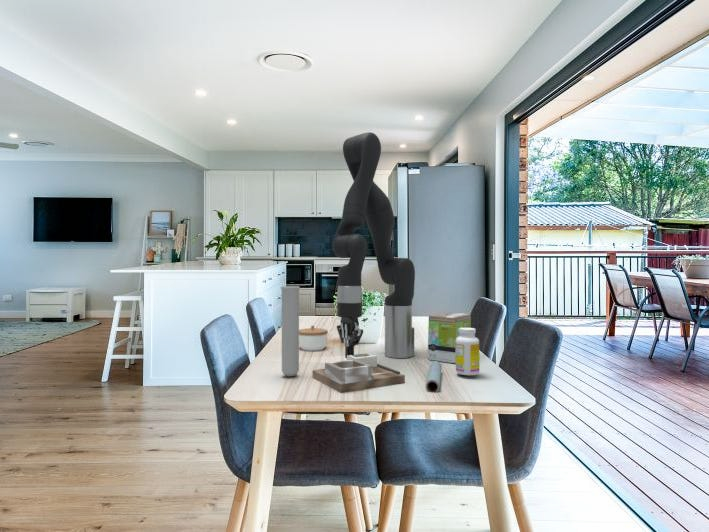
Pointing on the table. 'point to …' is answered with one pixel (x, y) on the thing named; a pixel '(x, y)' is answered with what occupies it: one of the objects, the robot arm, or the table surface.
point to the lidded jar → (312, 339)
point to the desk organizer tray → (356, 375)
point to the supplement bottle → (467, 352)
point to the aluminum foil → (434, 377)
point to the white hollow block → (364, 358)
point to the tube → (290, 330)
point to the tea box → (445, 335)
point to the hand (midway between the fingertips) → (349, 358)
